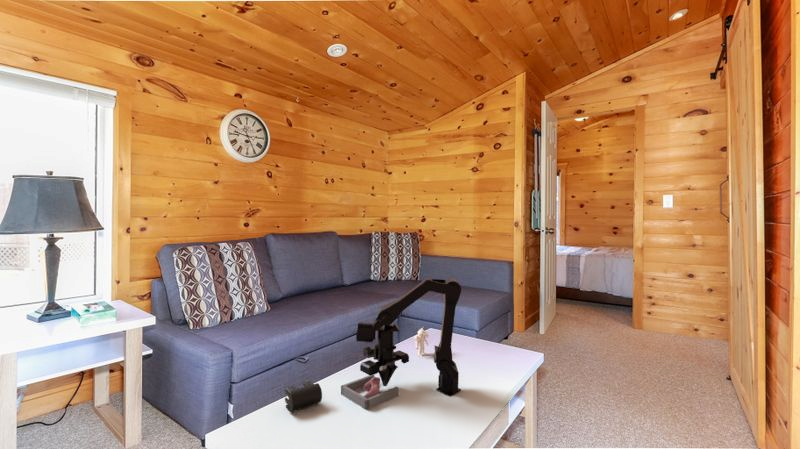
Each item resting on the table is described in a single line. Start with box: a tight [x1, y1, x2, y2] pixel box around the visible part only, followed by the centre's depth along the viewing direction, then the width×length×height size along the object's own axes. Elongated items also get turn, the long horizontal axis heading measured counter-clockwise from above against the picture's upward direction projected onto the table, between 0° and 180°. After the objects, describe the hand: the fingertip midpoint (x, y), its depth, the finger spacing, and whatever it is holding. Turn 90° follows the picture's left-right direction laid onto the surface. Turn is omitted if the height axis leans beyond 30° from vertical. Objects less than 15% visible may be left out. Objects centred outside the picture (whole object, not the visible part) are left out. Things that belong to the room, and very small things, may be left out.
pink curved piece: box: [363, 375, 381, 398], centre depth 131 cm, size 10×5×7 cm, turn 3°
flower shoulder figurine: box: [413, 327, 429, 357], centre depth 170 cm, size 9×4×12 cm, turn 141°
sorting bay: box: [340, 374, 400, 411], centre depth 132 cm, size 14×14×3 cm
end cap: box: [284, 381, 323, 413], centre depth 123 cm, size 10×7×7 cm
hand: (384, 385), depth 137 cm, fingers closed
